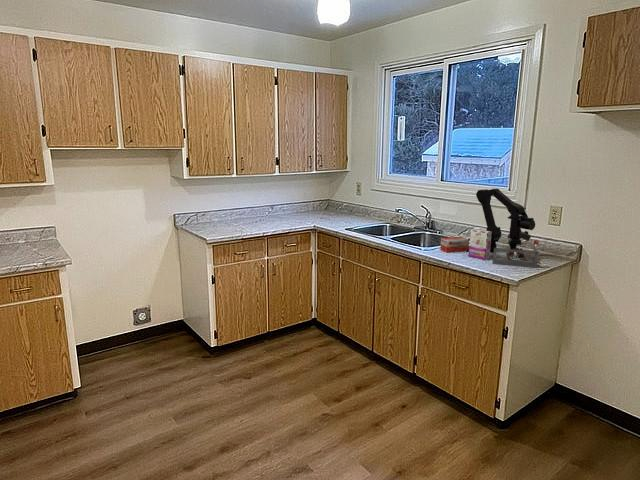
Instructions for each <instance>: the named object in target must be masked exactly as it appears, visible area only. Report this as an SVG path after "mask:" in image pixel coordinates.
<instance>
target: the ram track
mask: <svg viewBox="0 0 640 480" xmlns="http://www.w3.org/2000/svg"><path fill="white" fill-rule="evenodd" d="M531 256H532V255H530V256H529V257H530V260H531V261H532V262H533V261H534V260H535V258H532V257H531ZM537 264H541V261H540V259H539V258H538V262H537Z"/></svg>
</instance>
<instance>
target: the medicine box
mask: <svg viewBox="0 0 640 480" xmlns="http://www.w3.org/2000/svg"><path fill="white" fill-rule="evenodd" d="M469 242H470V238H469V239H468V238H466V237H463V236H451V237H441V238H440V246H439V247H440V249H439V250H440V251H442V252H444V253H447V254H451V253H452V254H453V253H464V251H466V250H467V248H468V249H469ZM466 252H467V251H466Z"/></svg>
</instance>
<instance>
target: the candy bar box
mask: <svg viewBox="0 0 640 480" xmlns="http://www.w3.org/2000/svg"><path fill="white" fill-rule="evenodd" d="M491 236H492V232H491V231H486V230H483V229H478V228H472V229H470V232H469V246H468V257H469V258H474V259H478V260H483V261H487V260H490V257H491V256H490V255H491V252H490V247H491Z"/></svg>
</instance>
